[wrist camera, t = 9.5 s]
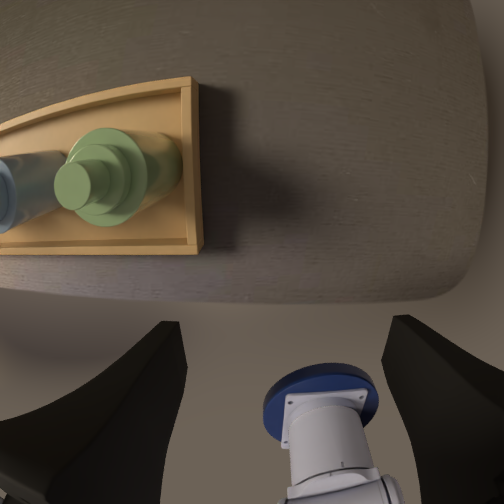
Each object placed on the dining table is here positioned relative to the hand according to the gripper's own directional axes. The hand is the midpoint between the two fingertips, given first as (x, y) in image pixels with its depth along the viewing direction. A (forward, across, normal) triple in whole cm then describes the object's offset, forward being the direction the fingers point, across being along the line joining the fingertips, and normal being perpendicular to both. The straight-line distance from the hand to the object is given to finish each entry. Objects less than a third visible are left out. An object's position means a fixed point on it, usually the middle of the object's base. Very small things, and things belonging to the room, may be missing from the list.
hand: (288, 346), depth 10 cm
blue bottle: (+10, +16, -5) cm, 19 cm away
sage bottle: (+10, +8, -5) cm, 13 cm away
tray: (+11, +16, -5) cm, 19 cm away
